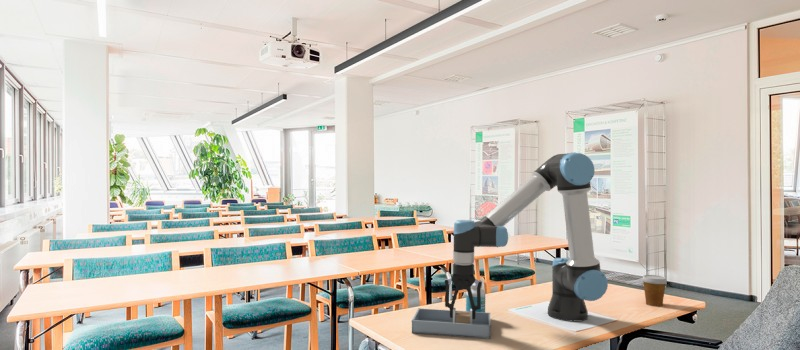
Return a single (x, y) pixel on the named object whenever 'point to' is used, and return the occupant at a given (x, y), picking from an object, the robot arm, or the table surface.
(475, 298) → the pill bottle
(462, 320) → the walnut cube
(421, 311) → the tote
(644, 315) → the table surface
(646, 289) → the disposable coffee cup
